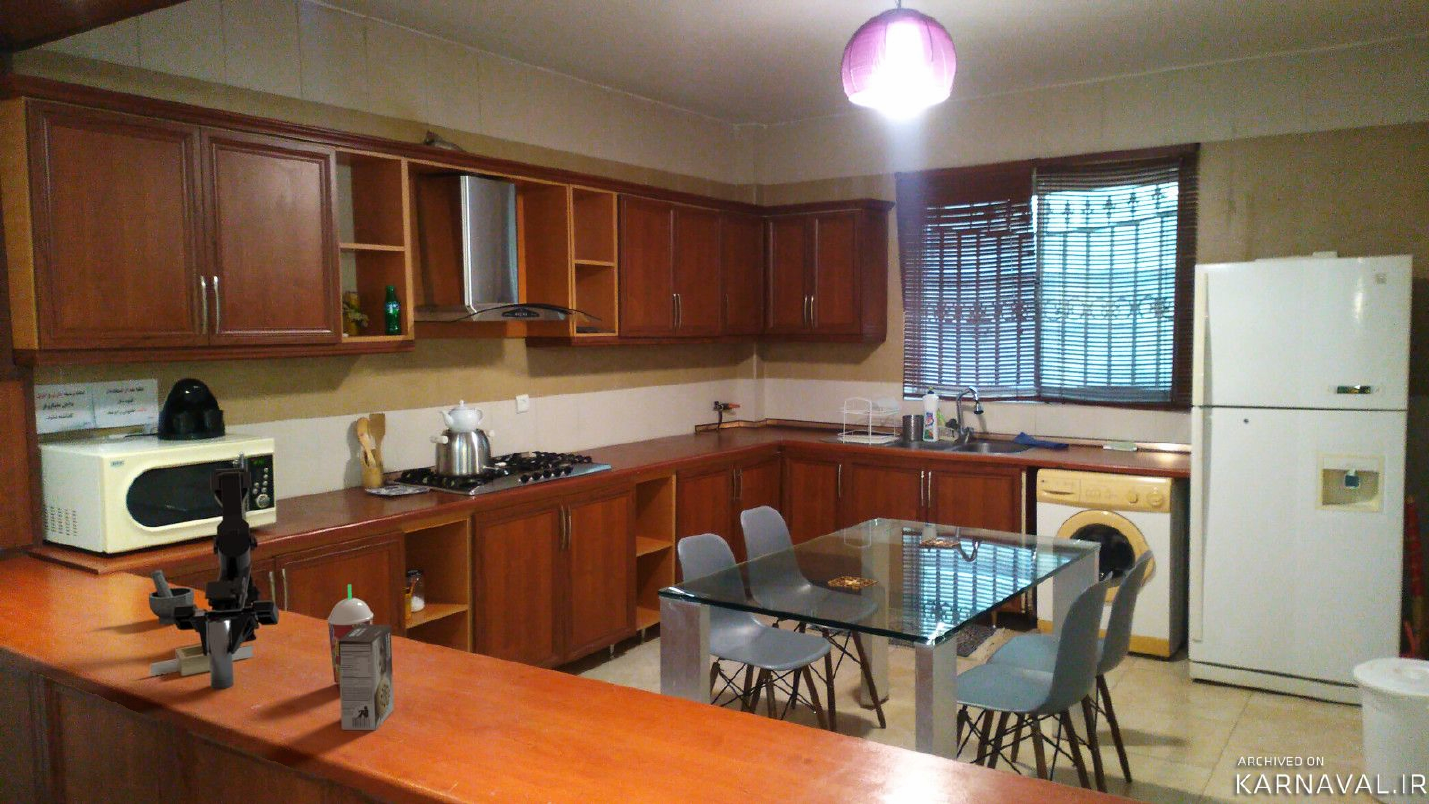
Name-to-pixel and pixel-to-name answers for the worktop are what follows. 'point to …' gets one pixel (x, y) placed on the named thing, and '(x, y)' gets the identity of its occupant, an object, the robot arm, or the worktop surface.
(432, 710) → the worktop surface
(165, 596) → the mortar and pestle
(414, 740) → the worktop surface
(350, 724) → the coffee box
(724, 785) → the worktop surface
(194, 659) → the bracket
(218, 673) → the hinge pin
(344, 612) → the smoothie
